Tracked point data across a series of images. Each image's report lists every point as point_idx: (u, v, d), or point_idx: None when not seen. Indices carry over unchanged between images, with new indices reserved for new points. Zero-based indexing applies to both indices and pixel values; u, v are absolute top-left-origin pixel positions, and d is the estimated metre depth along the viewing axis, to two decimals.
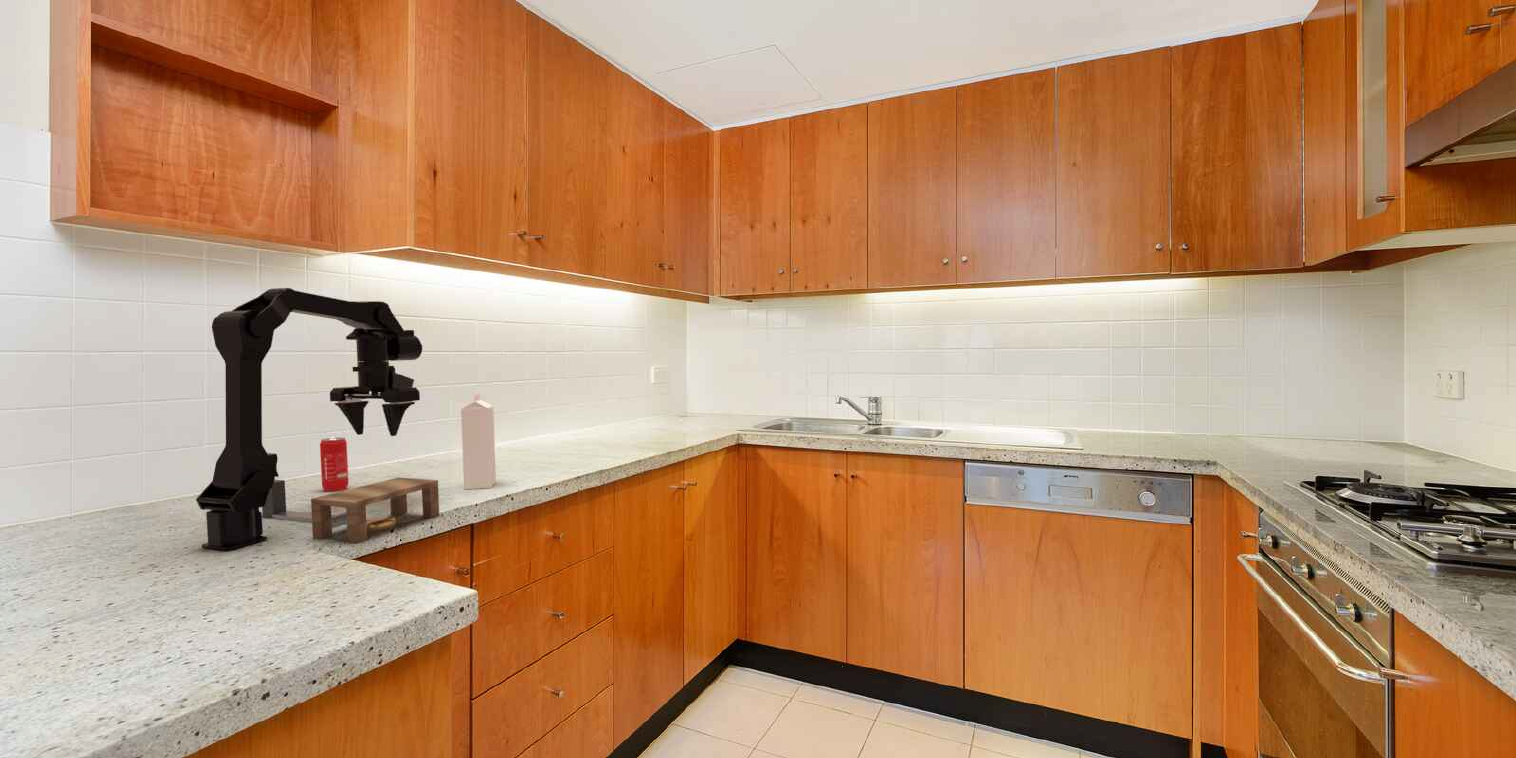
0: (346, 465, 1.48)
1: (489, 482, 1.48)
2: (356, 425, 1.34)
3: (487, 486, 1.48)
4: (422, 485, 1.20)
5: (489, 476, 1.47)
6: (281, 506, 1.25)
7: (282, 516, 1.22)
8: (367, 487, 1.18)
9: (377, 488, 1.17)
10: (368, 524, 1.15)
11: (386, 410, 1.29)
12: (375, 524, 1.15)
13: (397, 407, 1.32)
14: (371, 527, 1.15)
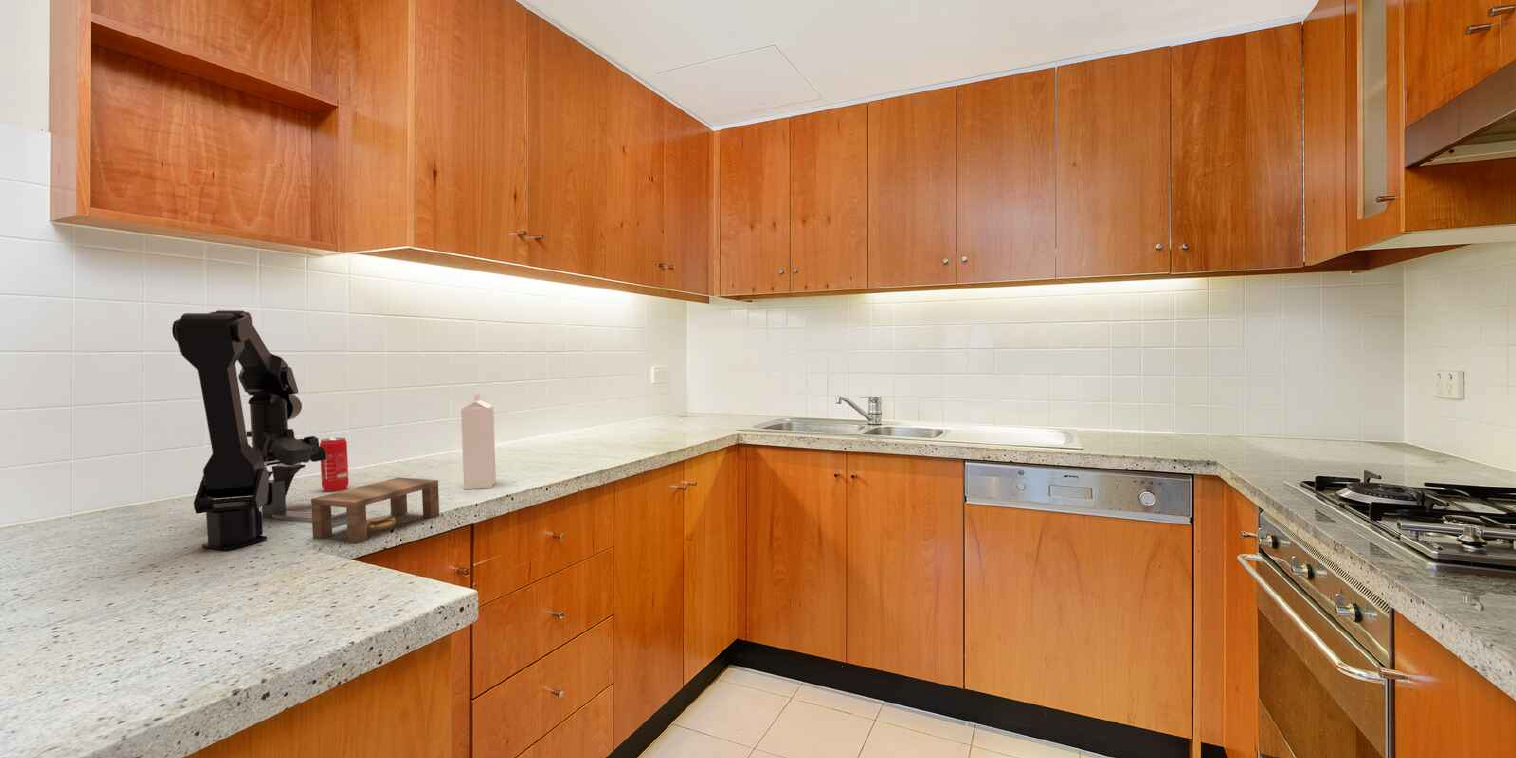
0: (346, 465, 1.48)
1: (489, 482, 1.48)
2: None
3: (487, 486, 1.48)
4: (422, 485, 1.20)
5: (489, 476, 1.47)
6: (281, 506, 1.25)
7: (282, 516, 1.22)
8: (367, 487, 1.18)
9: (377, 488, 1.17)
10: (368, 524, 1.15)
11: None
12: (375, 524, 1.15)
13: None
14: (371, 527, 1.15)
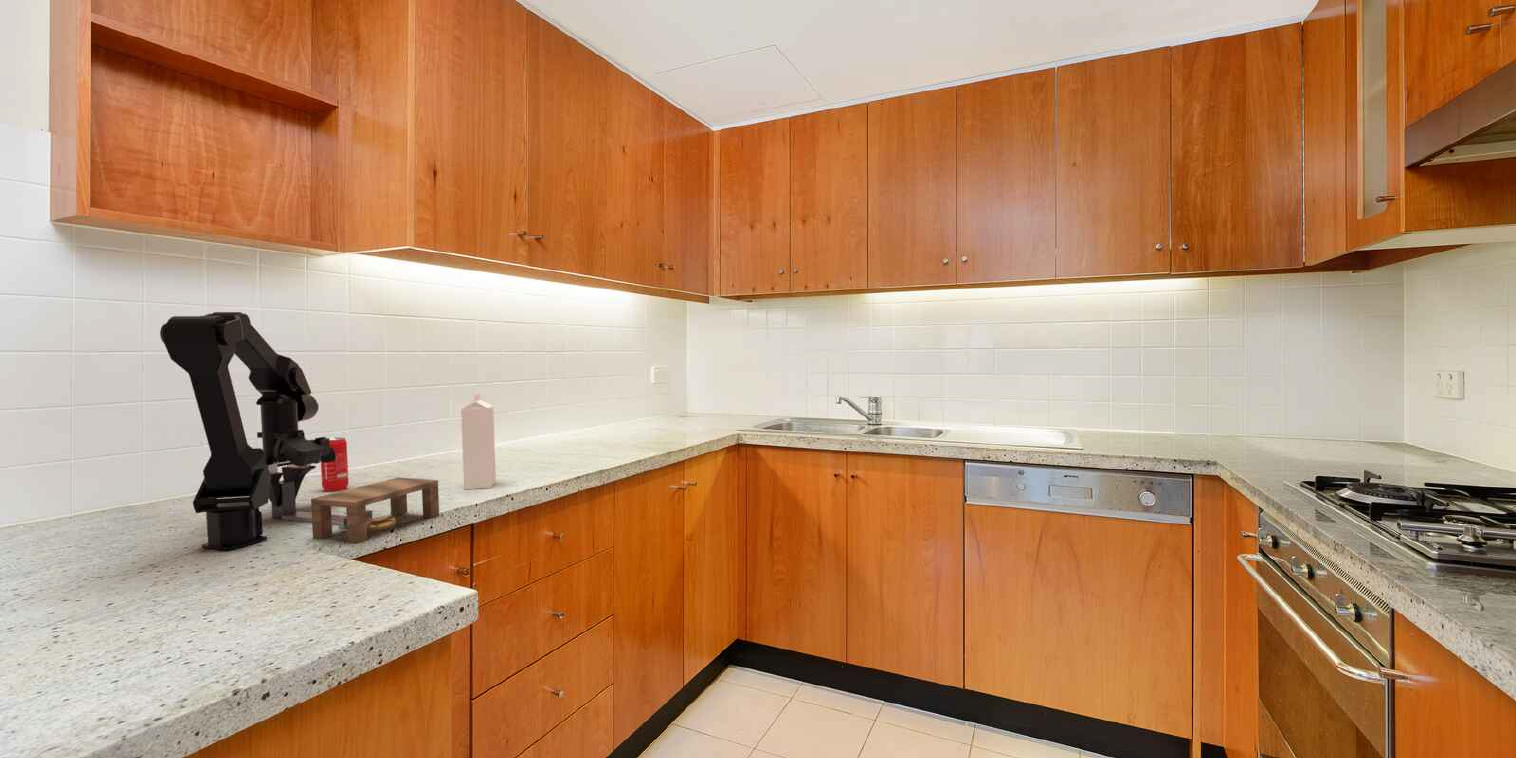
0: (346, 465, 1.48)
1: (489, 482, 1.48)
2: None
3: (487, 486, 1.48)
4: (422, 485, 1.20)
5: (489, 476, 1.47)
6: (291, 507, 1.24)
7: (292, 517, 1.22)
8: (367, 487, 1.18)
9: (377, 488, 1.17)
10: (368, 524, 1.15)
11: None
12: (375, 524, 1.15)
13: None
14: (371, 527, 1.15)
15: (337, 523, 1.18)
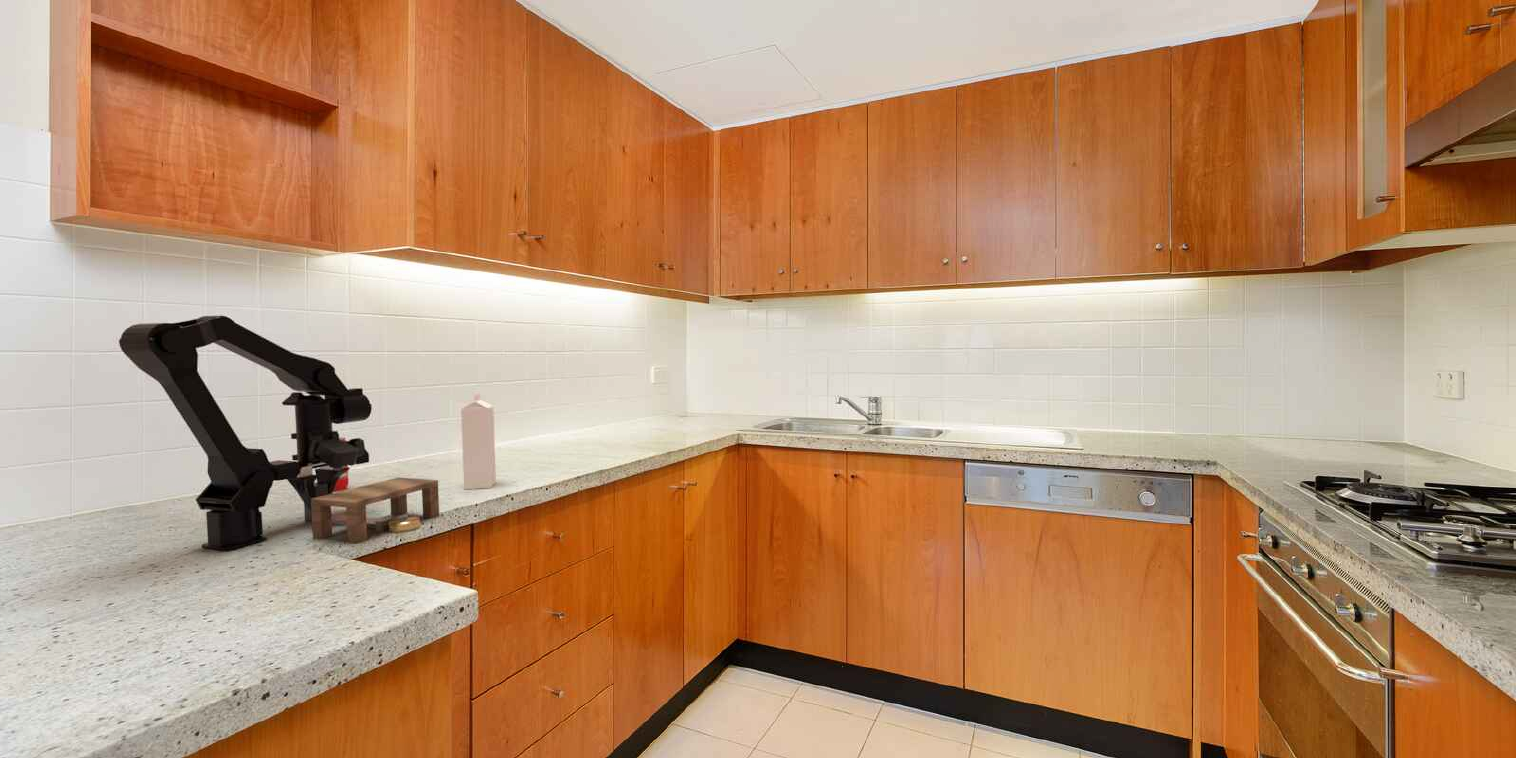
0: None
1: (489, 482, 1.48)
2: None
3: (487, 486, 1.48)
4: (422, 485, 1.20)
5: (489, 476, 1.47)
6: None
7: None
8: (367, 487, 1.18)
9: (377, 488, 1.17)
10: (393, 525, 1.13)
11: None
12: (400, 525, 1.13)
13: (304, 479, 1.19)
14: (396, 528, 1.13)
15: (373, 526, 1.16)
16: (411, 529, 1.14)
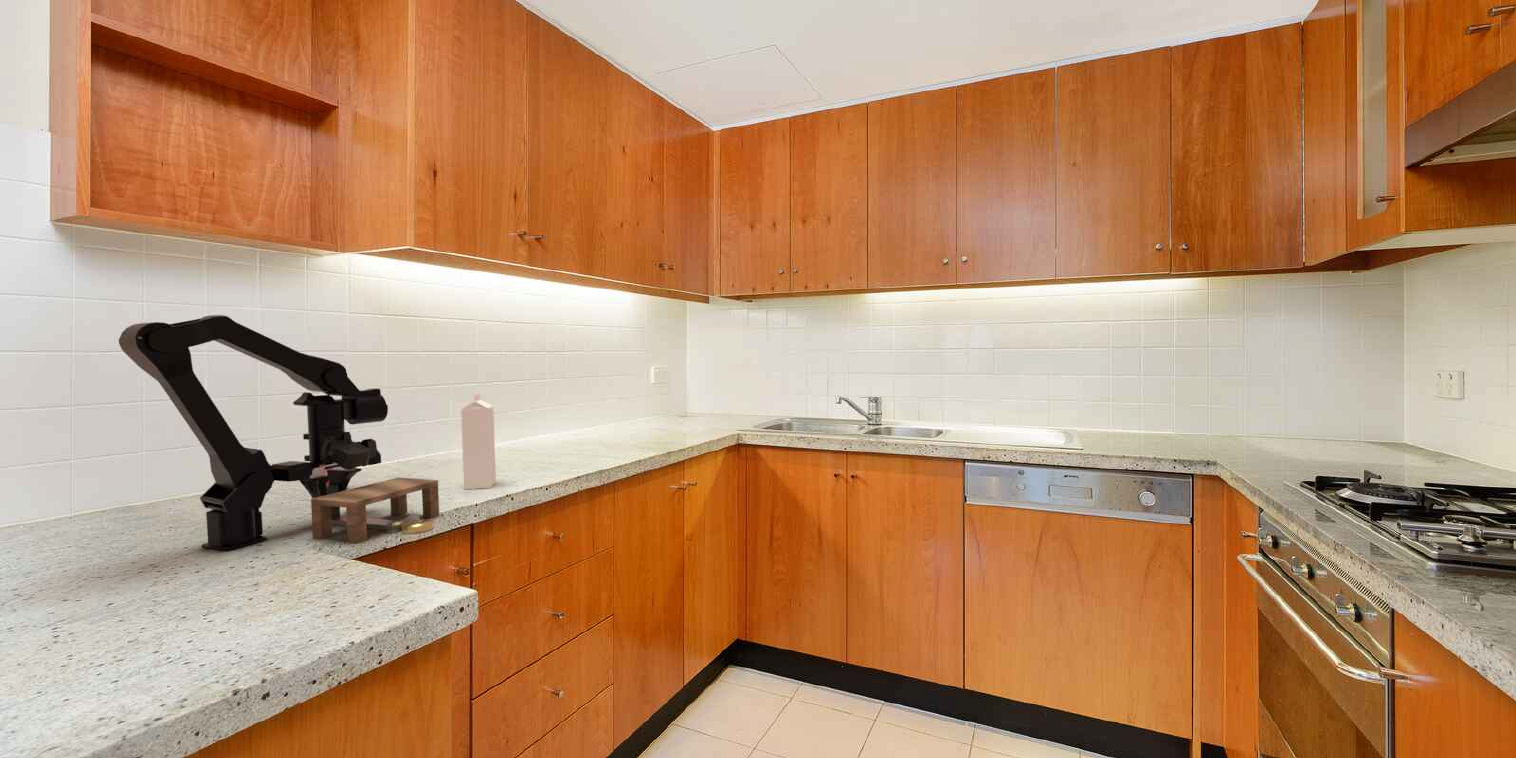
0: None
1: (489, 482, 1.48)
2: None
3: (487, 486, 1.48)
4: (422, 485, 1.20)
5: (489, 476, 1.47)
6: (335, 511, 1.21)
7: (337, 521, 1.18)
8: (367, 487, 1.18)
9: (377, 488, 1.17)
10: (406, 528, 1.12)
11: None
12: (413, 528, 1.12)
13: (316, 480, 1.18)
14: (409, 531, 1.12)
15: (384, 528, 1.15)
16: (425, 531, 1.13)
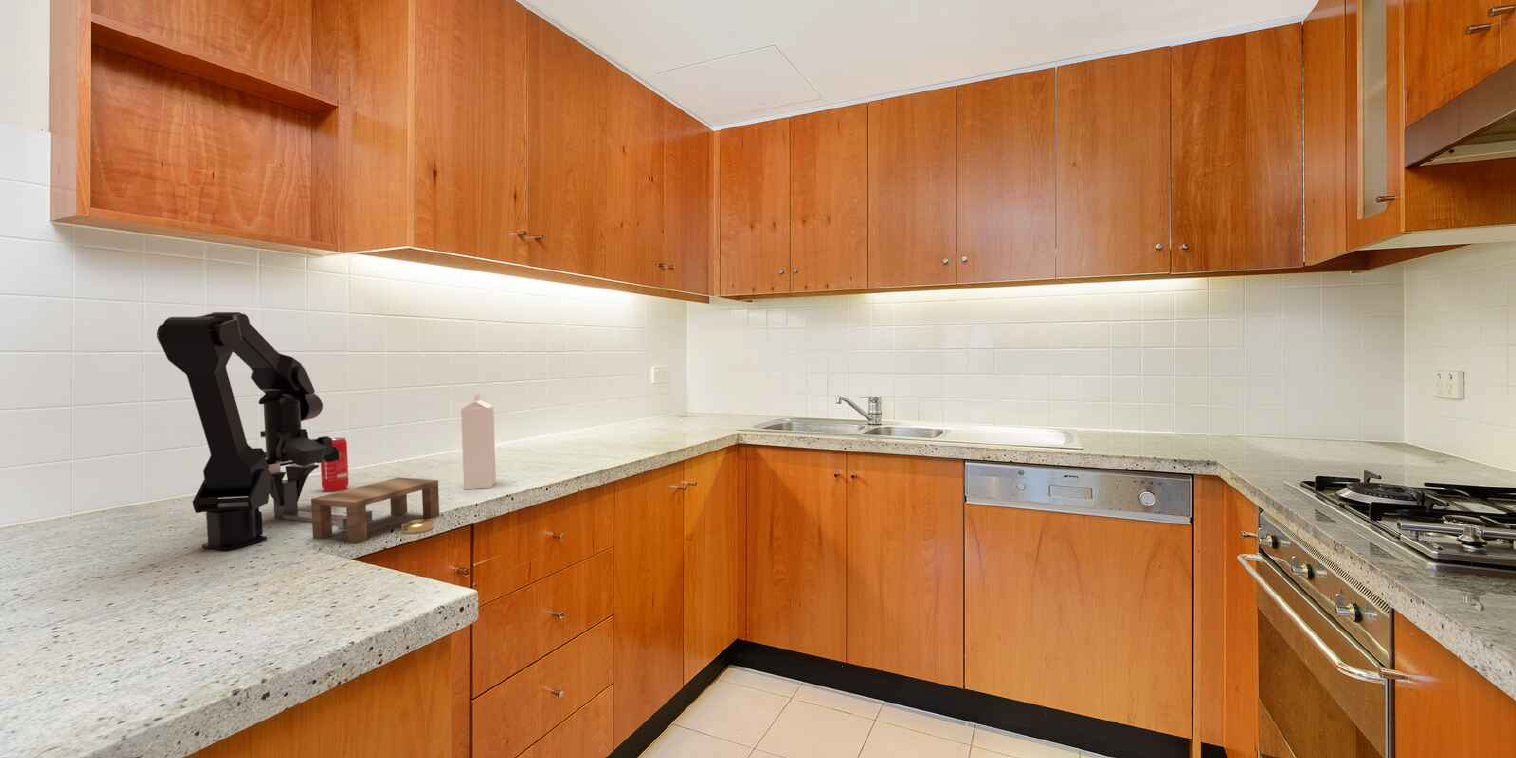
0: (346, 465, 1.48)
1: (489, 482, 1.48)
2: None
3: (487, 486, 1.48)
4: (422, 485, 1.20)
5: (489, 476, 1.47)
6: (293, 506, 1.24)
7: (293, 516, 1.22)
8: (367, 487, 1.18)
9: (377, 488, 1.17)
10: (406, 528, 1.12)
11: None
12: (414, 527, 1.12)
13: None
14: (410, 531, 1.12)
15: (337, 523, 1.18)
16: (425, 531, 1.13)
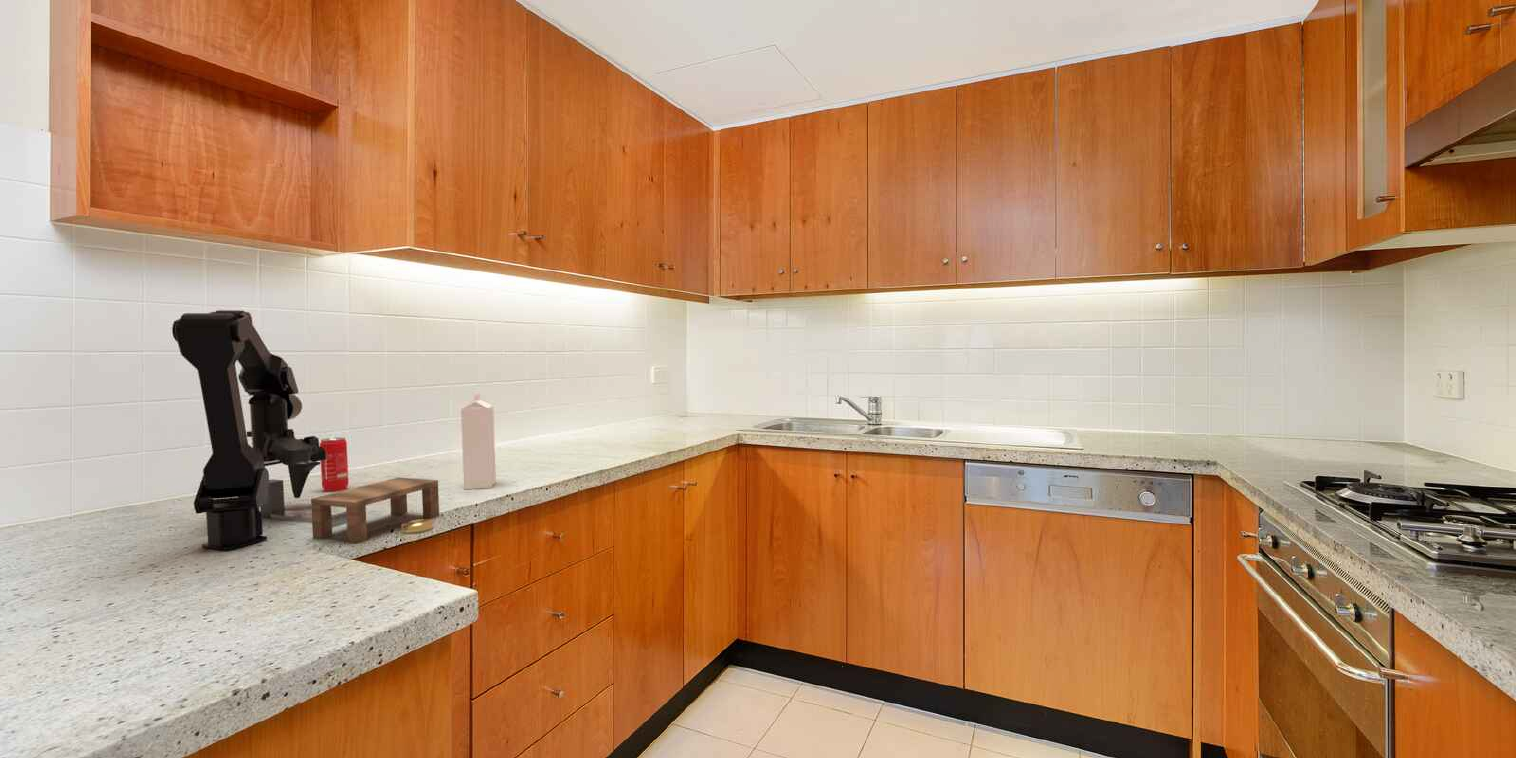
0: (346, 465, 1.48)
1: (489, 482, 1.48)
2: (294, 487, 1.29)
3: (487, 486, 1.48)
4: (422, 485, 1.20)
5: (489, 476, 1.47)
6: (280, 506, 1.25)
7: (280, 516, 1.23)
8: (367, 487, 1.18)
9: (377, 488, 1.17)
10: (407, 527, 1.12)
11: None
12: (415, 526, 1.12)
13: None
14: (411, 530, 1.12)
15: None
16: (426, 530, 1.13)
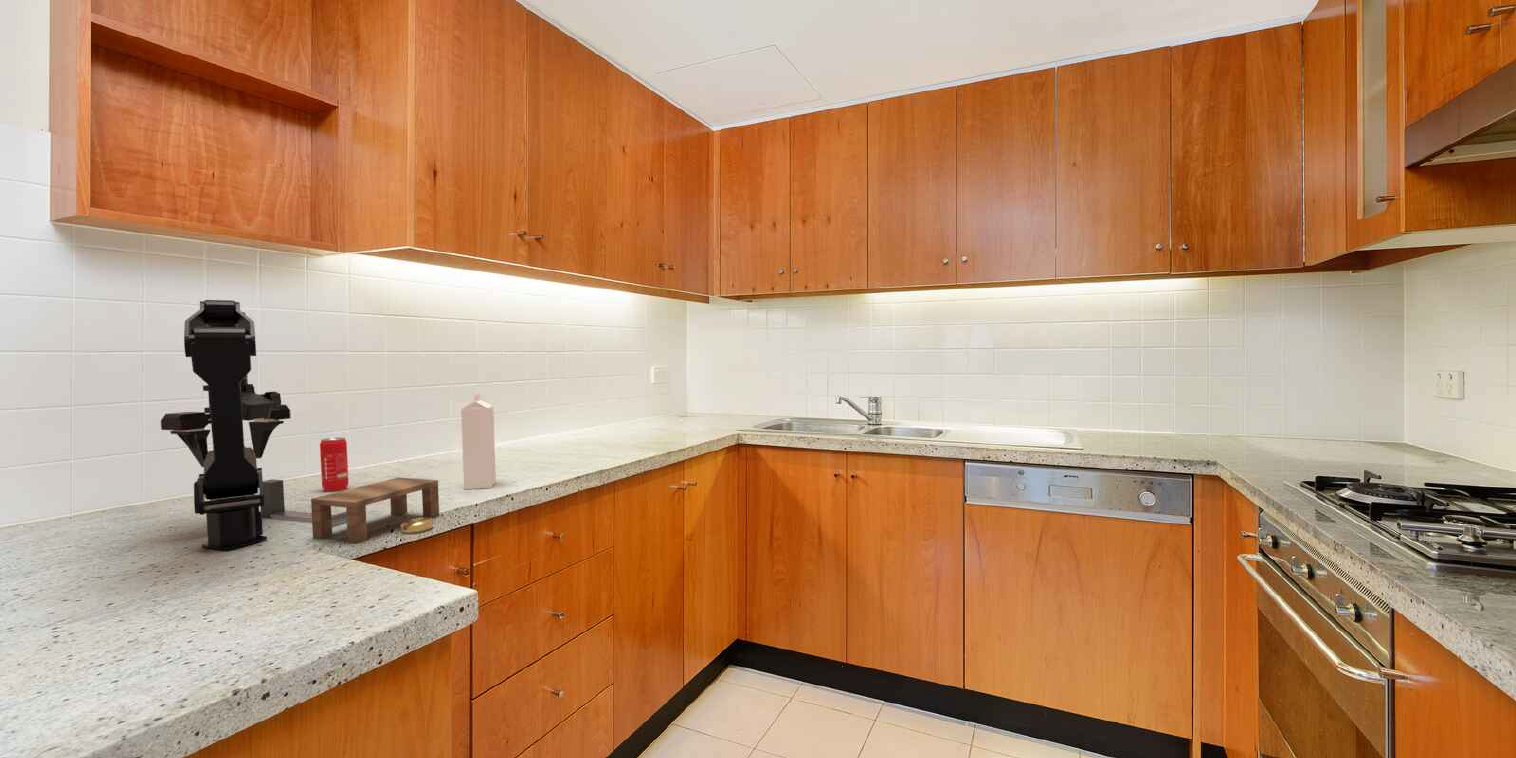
0: (346, 465, 1.48)
1: (489, 482, 1.48)
2: (255, 447, 1.22)
3: (487, 486, 1.48)
4: (422, 485, 1.20)
5: (489, 476, 1.47)
6: (280, 506, 1.25)
7: (280, 516, 1.23)
8: (367, 487, 1.18)
9: (377, 488, 1.17)
10: (417, 526, 1.12)
11: None
12: (425, 524, 1.13)
13: None
14: (421, 528, 1.13)
15: None
16: (432, 526, 1.15)
